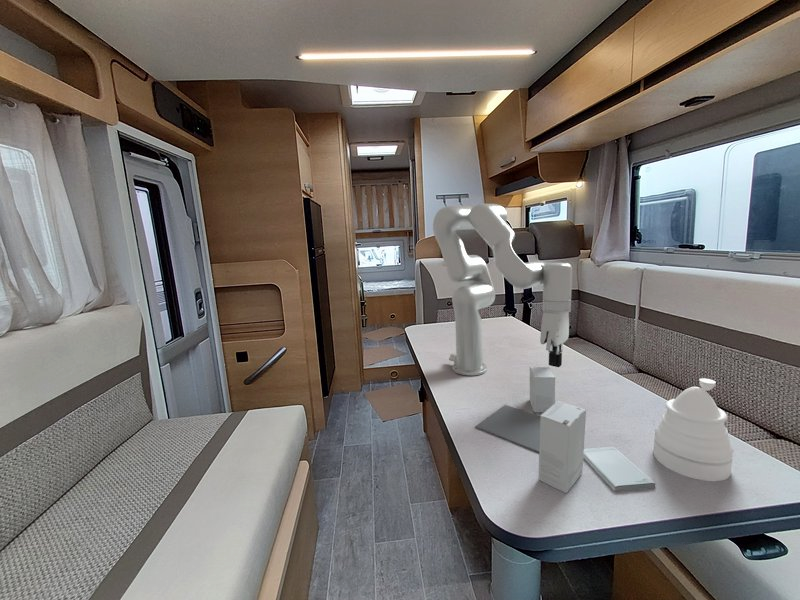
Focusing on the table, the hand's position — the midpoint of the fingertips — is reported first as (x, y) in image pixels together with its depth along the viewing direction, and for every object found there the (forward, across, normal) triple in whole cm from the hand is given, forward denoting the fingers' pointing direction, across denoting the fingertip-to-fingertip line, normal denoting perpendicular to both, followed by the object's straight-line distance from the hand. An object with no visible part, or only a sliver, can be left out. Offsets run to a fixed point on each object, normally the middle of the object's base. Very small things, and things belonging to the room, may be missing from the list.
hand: (555, 365), depth 108 cm
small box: (+10, +9, 0) cm, 13 cm away
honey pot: (+10, +13, +34) cm, 38 cm away
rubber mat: (+10, +23, +2) cm, 25 cm away
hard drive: (+10, +26, +23) cm, 36 cm away
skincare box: (+10, +36, +16) cm, 41 cm away
